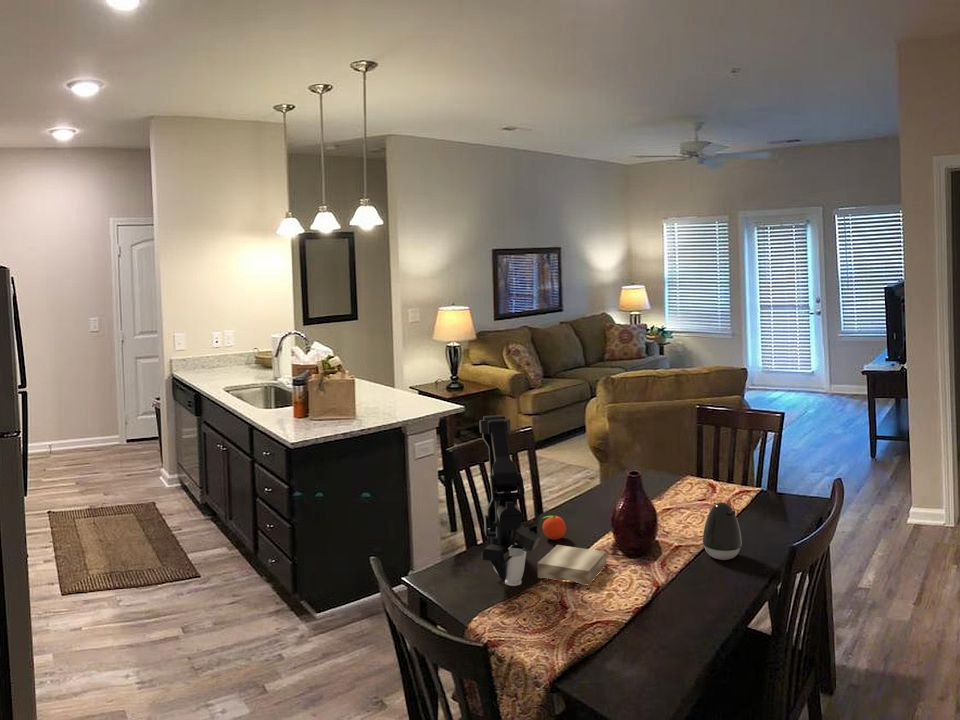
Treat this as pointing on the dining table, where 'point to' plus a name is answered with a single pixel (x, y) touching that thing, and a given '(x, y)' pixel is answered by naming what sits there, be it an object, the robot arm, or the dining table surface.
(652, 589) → the dining table surface
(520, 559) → the cup
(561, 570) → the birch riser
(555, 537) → the clementine
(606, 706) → the dining table surface
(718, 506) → the grey egg-shaped figure
